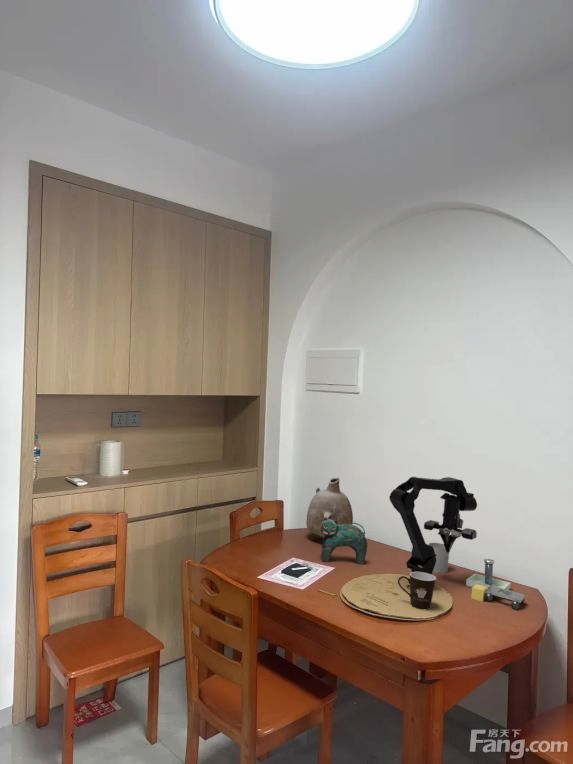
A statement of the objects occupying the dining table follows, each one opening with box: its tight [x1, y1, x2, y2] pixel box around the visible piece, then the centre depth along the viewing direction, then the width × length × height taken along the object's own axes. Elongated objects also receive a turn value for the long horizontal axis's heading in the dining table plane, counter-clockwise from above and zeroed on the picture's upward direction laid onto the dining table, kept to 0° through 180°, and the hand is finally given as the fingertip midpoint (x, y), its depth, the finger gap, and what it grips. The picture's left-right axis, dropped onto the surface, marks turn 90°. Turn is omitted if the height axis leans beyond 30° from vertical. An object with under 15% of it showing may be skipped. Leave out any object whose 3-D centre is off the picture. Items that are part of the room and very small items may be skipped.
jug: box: [305, 477, 354, 540], centre depth 256 cm, size 24×21×30 cm
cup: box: [428, 542, 450, 574], centre depth 227 cm, size 8×8×10 cm
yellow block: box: [470, 584, 488, 602], centre depth 198 cm, size 5×4×4 cm
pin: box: [483, 558, 495, 585], centre depth 210 cm, size 4×4×10 cm
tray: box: [465, 573, 512, 594], centre depth 210 cm, size 11×14×2 cm
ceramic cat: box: [320, 513, 368, 565], centre depth 226 cm, size 20×6×20 cm, turn 92°
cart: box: [484, 585, 526, 611], centre depth 196 cm, size 12×9×4 cm
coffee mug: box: [397, 571, 437, 610], centre depth 186 cm, size 12×9×10 cm
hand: (447, 552), depth 209 cm, fingers closed
